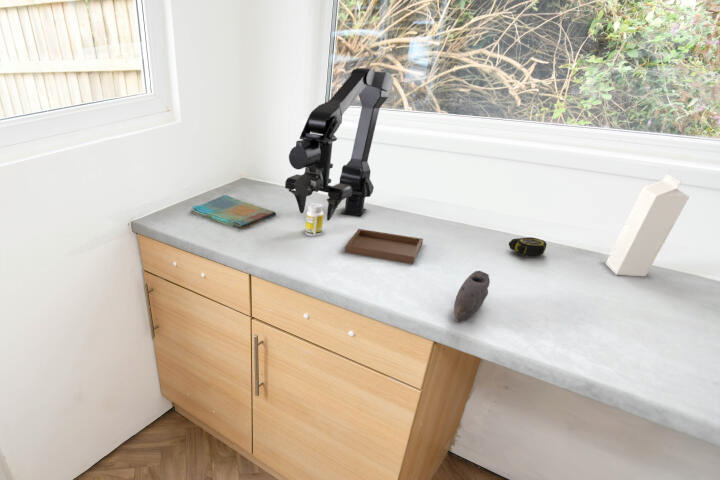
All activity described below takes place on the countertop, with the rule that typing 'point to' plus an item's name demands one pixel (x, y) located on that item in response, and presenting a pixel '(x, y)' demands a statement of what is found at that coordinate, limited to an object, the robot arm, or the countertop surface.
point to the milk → (647, 227)
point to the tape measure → (528, 246)
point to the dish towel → (232, 212)
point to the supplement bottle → (314, 219)
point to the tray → (384, 246)
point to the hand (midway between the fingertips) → (314, 216)
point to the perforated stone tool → (471, 295)
